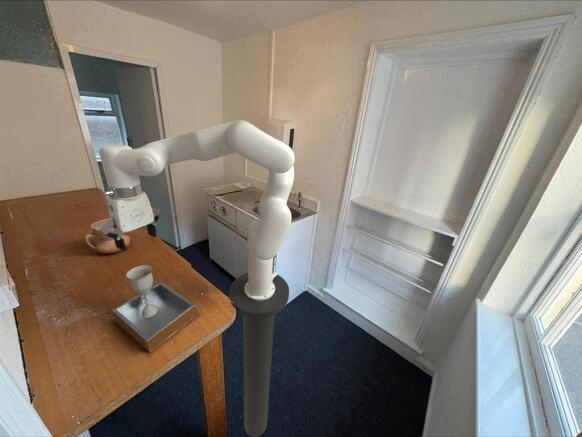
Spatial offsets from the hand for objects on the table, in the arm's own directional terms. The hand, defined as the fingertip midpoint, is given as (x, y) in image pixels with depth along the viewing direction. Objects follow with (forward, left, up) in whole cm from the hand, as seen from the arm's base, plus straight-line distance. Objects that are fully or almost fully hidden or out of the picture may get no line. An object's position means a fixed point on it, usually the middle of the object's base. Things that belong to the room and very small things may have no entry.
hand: (138, 242), depth 73 cm
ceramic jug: (-10, -50, -28) cm, 59 cm away
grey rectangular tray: (+2, +6, -28) cm, 29 cm away
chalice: (+2, +1, -28) cm, 28 cm away
